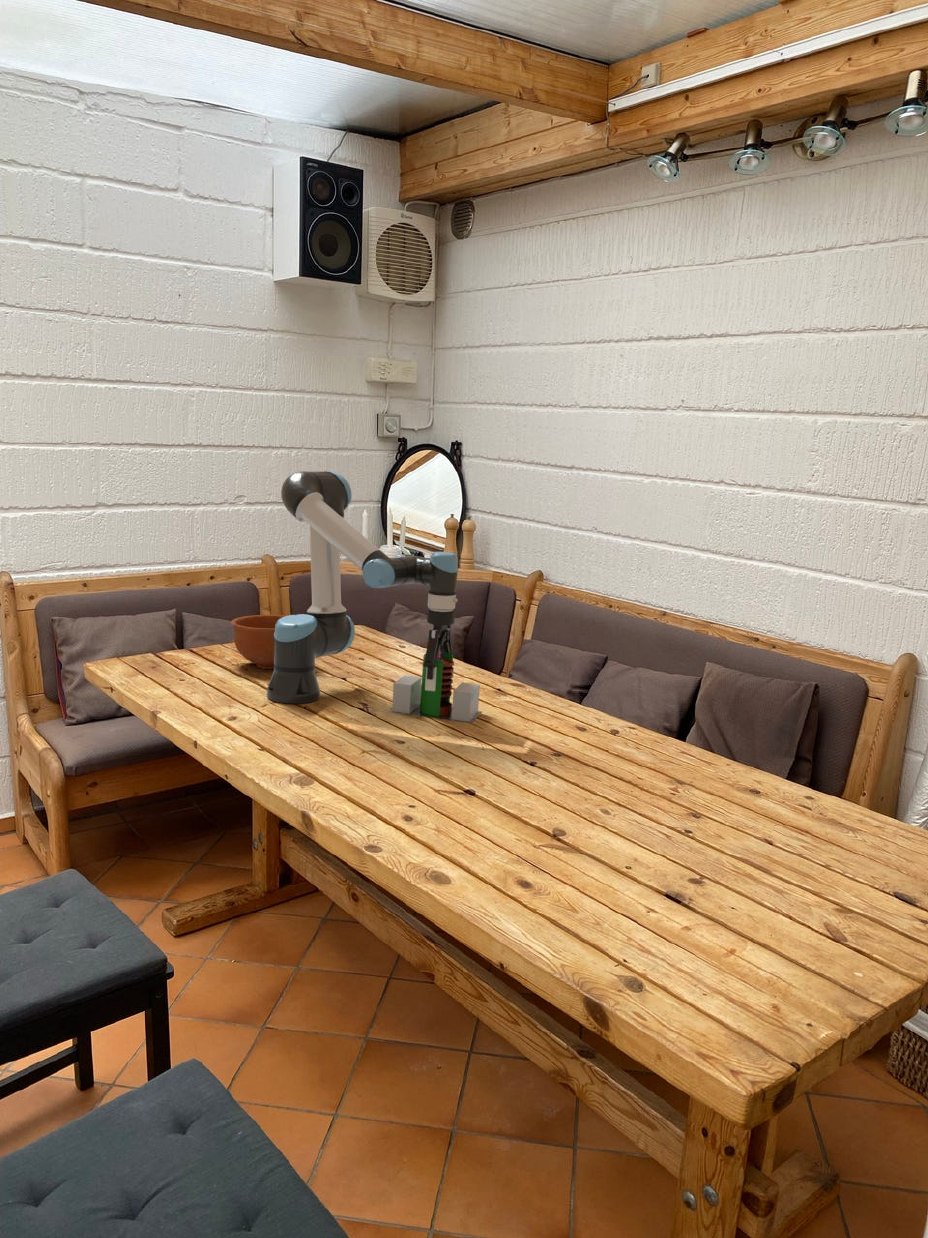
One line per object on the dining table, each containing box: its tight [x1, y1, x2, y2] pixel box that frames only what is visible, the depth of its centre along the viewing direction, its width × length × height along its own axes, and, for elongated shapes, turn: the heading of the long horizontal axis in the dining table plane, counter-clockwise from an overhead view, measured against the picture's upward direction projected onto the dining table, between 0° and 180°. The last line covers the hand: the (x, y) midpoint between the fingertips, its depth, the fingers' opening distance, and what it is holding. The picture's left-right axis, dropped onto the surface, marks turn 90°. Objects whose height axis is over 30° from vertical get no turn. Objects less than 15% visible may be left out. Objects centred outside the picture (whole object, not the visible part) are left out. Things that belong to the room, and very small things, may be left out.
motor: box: [420, 640, 455, 716], centre depth 264 cm, size 10×9×20 cm
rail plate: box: [387, 705, 483, 724], centre depth 265 cm, size 24×12×2 cm, turn 76°
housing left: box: [391, 675, 422, 714], centre depth 266 cm, size 5×10×8 cm, turn 166°
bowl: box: [230, 614, 286, 670], centre depth 309 cm, size 25×25×15 cm
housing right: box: [452, 681, 481, 721], centre depth 262 cm, size 5×10×8 cm, turn 166°
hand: (436, 684), depth 264 cm, fingers open, 13 cm apart
